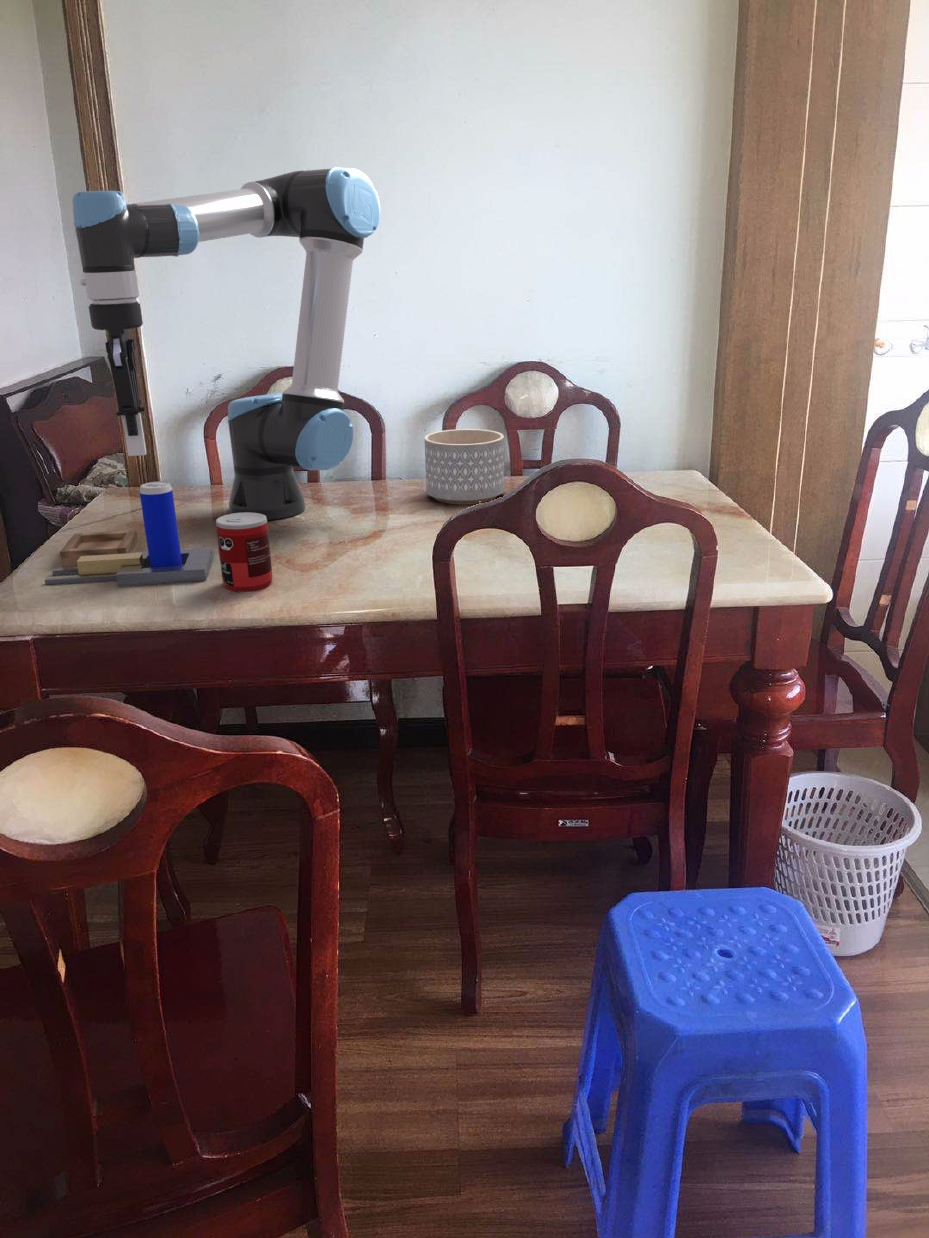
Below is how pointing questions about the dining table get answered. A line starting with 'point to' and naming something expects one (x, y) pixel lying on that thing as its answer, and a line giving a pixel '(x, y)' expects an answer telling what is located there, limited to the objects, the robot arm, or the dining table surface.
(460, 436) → the planter
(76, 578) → the socket plate
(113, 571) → the bar
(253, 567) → the canned food
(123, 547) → the tray
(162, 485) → the beverage can
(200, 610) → the dining table surface
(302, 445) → the robot arm
